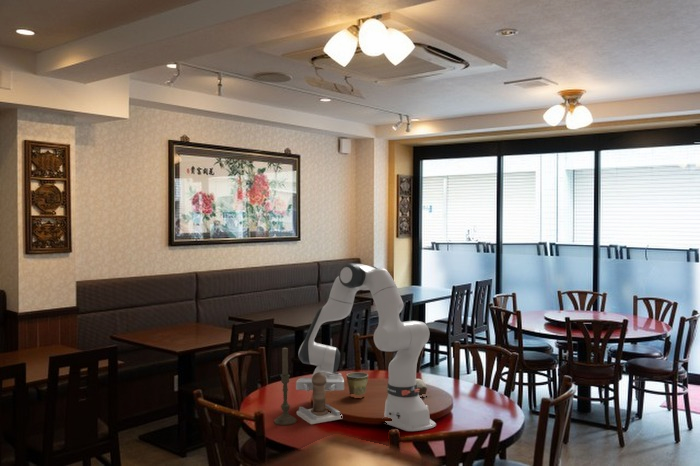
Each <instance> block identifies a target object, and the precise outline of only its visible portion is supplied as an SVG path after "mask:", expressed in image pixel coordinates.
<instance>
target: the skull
mask: <svg viewBox="0 0 700 466" xmlns="http://www.w3.org/2000/svg"><path fill="white" fill-rule="evenodd" d="M416 384H417V386H418V389H420V390H418V391H420V392H419V395H422V394H426V392H428V391H427V390H428V387H427V384H426V382H425V381H424V380H423V379H421V378H416Z"/></svg>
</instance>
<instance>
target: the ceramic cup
mask: <svg viewBox="0 0 700 466" xmlns="http://www.w3.org/2000/svg"><path fill="white" fill-rule="evenodd" d="M345 375H346V381H347V384H348V390H349V394H350V393H351V394H355V395H362V394H365V395H366V388H367V383H368V380H369V374H368V373H366V372H362V371H361V372H360V371H359V372H357V371H354V372H349V373H346V374H345Z"/></svg>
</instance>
